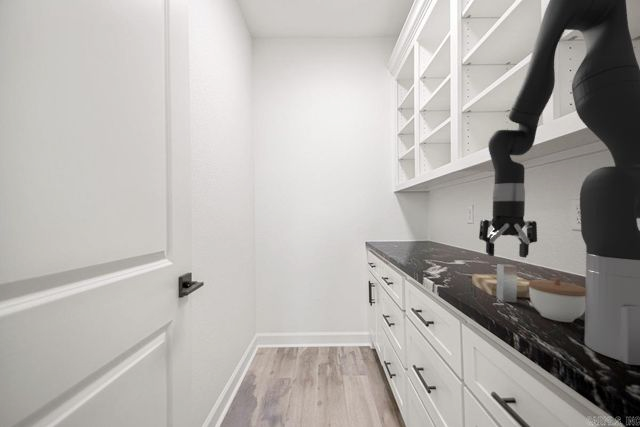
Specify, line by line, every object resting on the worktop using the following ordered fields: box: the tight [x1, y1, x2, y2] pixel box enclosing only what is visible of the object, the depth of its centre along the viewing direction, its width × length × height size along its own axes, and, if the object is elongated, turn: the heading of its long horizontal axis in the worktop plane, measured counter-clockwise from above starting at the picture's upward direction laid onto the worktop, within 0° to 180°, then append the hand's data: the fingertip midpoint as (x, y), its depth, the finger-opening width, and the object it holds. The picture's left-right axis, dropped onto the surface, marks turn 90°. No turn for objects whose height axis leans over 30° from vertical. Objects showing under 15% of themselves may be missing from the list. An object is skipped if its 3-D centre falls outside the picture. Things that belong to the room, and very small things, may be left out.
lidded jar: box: [528, 277, 585, 323], centre depth 65 cm, size 11×11×9 cm
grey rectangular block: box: [496, 263, 518, 303], centre depth 77 cm, size 4×4×10 cm
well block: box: [471, 273, 530, 298], centre depth 88 cm, size 14×14×4 cm
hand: (506, 256), depth 78 cm, fingers open, 8 cm apart
